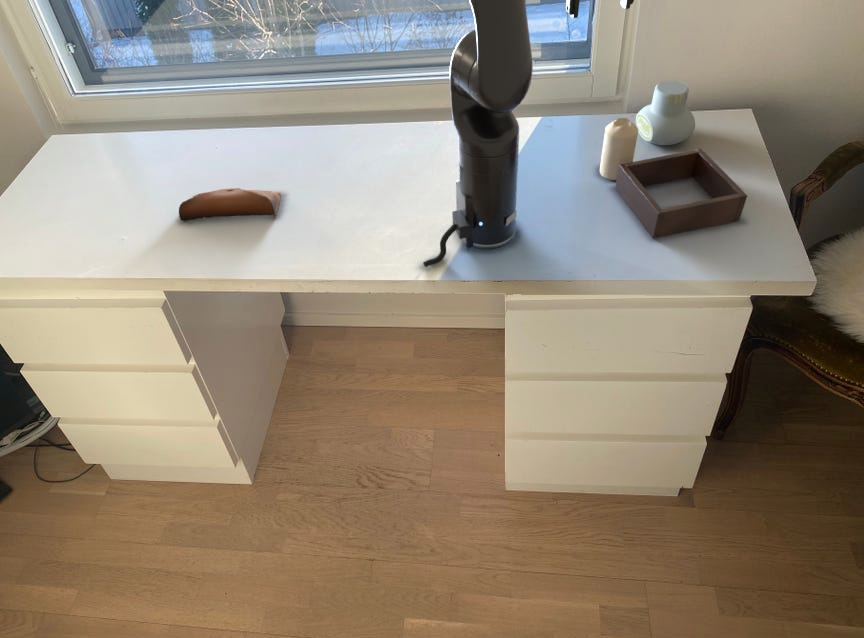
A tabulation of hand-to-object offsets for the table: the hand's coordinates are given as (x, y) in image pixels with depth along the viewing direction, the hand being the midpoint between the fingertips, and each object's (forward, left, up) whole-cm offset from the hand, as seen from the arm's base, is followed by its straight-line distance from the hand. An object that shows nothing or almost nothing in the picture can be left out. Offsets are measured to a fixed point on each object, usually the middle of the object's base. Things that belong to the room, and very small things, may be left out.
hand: (598, 11), depth 113 cm
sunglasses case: (-65, +8, -28) cm, 71 cm away
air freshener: (+18, +4, -28) cm, 33 cm away
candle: (+5, -4, -28) cm, 29 cm away
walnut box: (+10, -16, -28) cm, 34 cm away
